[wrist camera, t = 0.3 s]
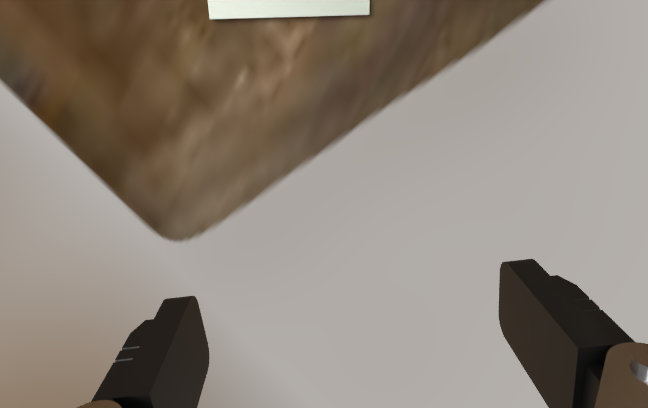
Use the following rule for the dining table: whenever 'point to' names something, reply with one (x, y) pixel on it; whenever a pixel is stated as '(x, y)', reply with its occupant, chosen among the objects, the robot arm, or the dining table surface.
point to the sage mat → (285, 8)
